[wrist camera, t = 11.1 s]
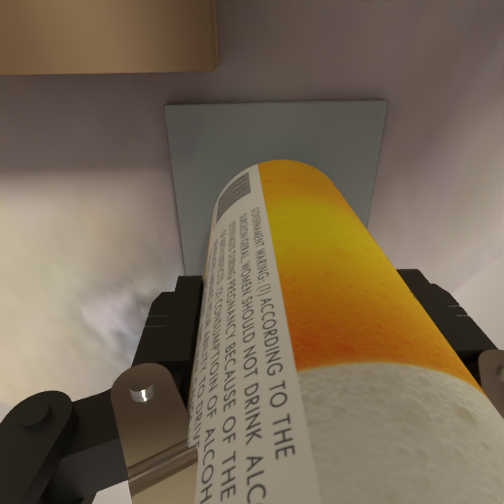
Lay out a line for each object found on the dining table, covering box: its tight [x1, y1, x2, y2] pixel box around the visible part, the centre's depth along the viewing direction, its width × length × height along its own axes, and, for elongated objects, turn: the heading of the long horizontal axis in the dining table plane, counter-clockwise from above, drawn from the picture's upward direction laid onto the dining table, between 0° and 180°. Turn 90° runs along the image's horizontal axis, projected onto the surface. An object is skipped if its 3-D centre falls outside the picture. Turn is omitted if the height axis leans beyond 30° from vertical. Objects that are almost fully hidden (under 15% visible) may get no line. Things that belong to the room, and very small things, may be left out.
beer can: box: [187, 160, 504, 504], centre depth 10 cm, size 6×6×15 cm
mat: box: [164, 99, 388, 284], centre depth 18 cm, size 10×10×1 cm
